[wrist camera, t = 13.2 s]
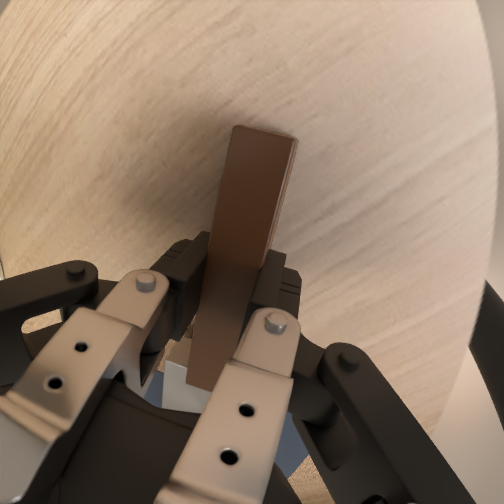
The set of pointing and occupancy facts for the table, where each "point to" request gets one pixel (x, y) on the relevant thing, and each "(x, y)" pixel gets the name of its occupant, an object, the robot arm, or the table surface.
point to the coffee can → (1, 273)
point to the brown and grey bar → (231, 262)
